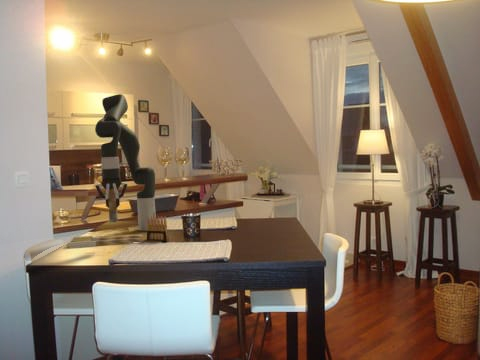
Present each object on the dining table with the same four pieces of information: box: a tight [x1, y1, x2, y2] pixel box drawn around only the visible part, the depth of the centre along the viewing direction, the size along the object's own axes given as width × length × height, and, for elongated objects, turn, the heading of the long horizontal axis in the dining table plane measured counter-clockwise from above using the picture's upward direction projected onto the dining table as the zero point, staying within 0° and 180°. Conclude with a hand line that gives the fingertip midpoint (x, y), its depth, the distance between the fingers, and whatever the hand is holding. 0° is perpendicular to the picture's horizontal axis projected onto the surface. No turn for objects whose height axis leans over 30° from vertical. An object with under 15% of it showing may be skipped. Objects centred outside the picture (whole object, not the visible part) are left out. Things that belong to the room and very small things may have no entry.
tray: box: [67, 236, 100, 249], centre depth 216 cm, size 12×10×3 cm
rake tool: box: [108, 189, 119, 223], centre depth 206 cm, size 3×5×14 cm, turn 9°
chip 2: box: [82, 235, 94, 242], centre depth 216 cm, size 4×4×4 cm
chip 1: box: [72, 236, 83, 242], centre depth 216 cm, size 4×4×4 cm
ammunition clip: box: [146, 215, 169, 243], centre depth 221 cm, size 11×2×12 cm, turn 68°
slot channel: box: [95, 234, 144, 247], centre depth 219 cm, size 20×12×3 cm, turn 99°
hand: (112, 207), depth 207 cm, fingers closed on rake tool, 3 cm apart
